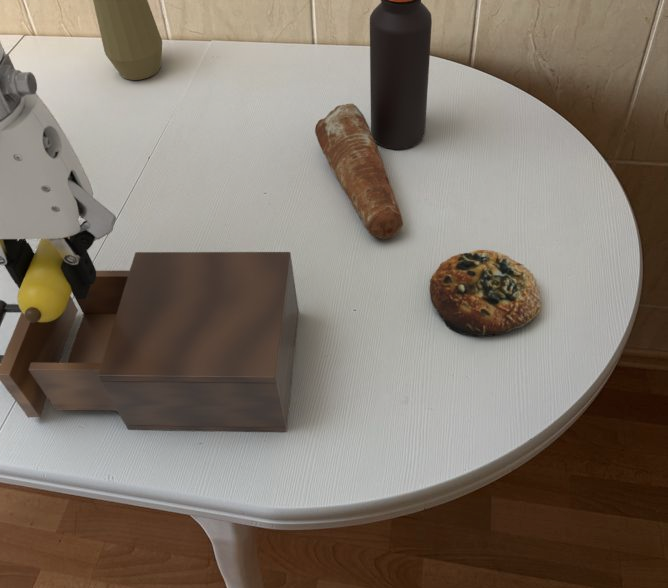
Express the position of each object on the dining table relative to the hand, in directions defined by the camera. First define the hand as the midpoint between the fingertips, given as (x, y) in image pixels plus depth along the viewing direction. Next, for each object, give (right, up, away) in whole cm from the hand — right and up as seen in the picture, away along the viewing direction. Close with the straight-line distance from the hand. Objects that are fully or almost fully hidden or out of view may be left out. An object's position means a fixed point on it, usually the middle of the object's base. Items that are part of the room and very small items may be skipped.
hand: (60, 285), depth 59 cm
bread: (+27, +13, +23) cm, 38 cm away
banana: (0, 0, 0) cm, 0 cm away
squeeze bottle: (-5, +34, +41) cm, 54 cm away
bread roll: (+38, 0, +12) cm, 40 cm away
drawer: (0, -7, +9) cm, 11 cm away
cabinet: (+12, -7, +9) cm, 16 cm away
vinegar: (+31, +22, +29) cm, 48 cm away
